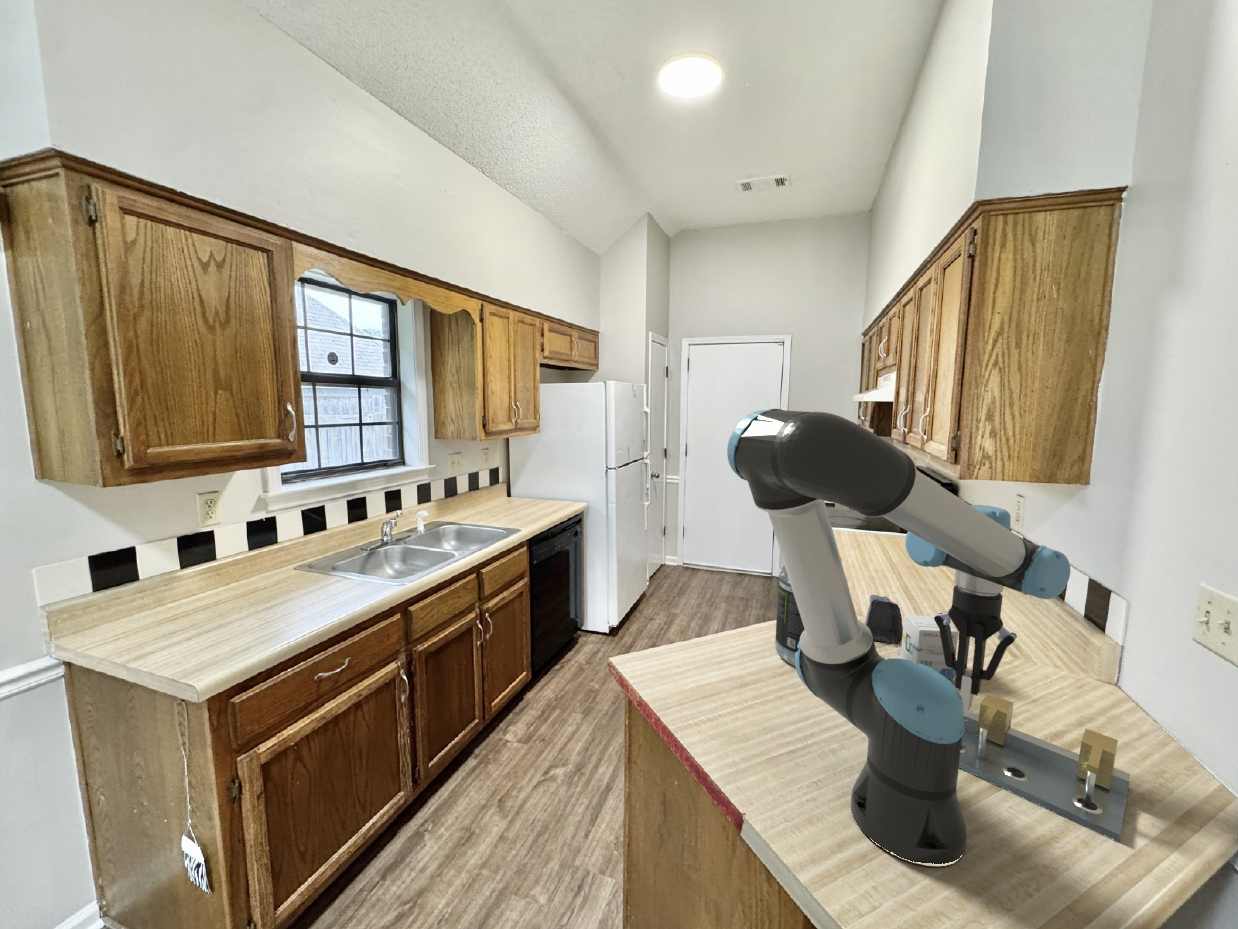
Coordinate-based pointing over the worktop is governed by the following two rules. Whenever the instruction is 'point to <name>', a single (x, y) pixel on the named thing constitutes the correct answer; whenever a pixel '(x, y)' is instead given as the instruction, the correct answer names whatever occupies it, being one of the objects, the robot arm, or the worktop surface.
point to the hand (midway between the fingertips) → (965, 706)
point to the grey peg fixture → (1054, 774)
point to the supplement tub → (787, 620)
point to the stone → (884, 620)
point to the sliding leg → (993, 721)
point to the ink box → (925, 643)
